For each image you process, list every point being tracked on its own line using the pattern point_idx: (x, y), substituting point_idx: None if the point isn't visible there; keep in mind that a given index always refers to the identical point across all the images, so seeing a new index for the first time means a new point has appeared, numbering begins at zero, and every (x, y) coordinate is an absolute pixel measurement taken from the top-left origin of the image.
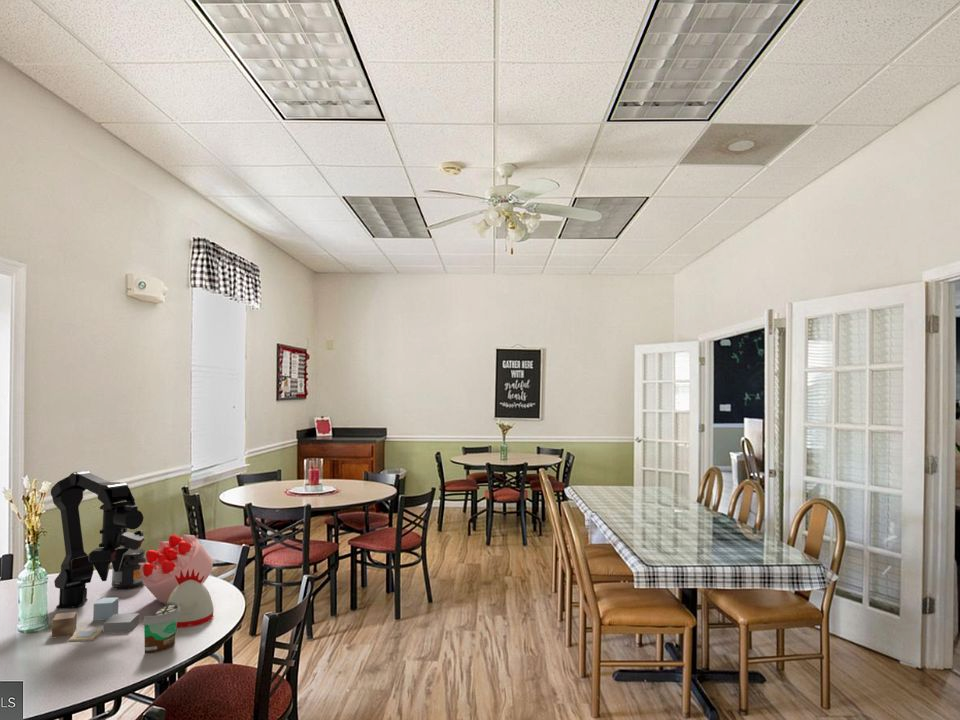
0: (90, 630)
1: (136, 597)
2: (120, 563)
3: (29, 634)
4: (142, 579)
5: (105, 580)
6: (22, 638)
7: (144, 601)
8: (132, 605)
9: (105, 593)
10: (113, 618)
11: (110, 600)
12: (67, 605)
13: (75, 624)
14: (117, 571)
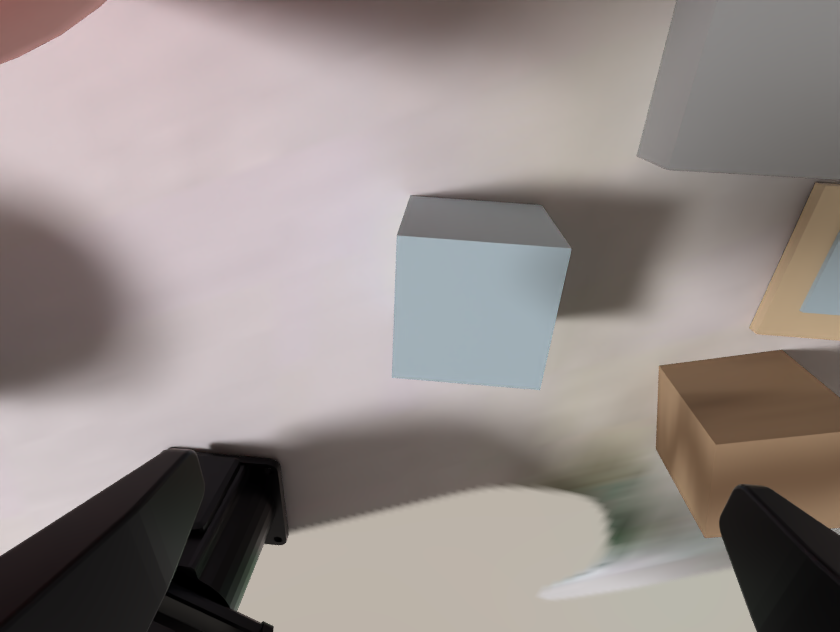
0: (789, 268)
1: (37, 172)
2: (61, 574)
3: (652, 531)
4: (18, 40)
5: (767, 497)
6: (700, 540)
7: (117, 62)
8: (225, 140)
9: (17, 398)
10: (804, 133)
11: (480, 285)
12: (274, 509)
13: (715, 385)
14: (195, 460)
